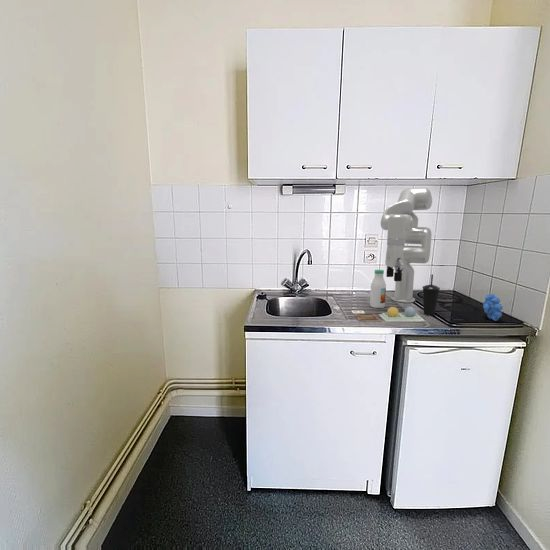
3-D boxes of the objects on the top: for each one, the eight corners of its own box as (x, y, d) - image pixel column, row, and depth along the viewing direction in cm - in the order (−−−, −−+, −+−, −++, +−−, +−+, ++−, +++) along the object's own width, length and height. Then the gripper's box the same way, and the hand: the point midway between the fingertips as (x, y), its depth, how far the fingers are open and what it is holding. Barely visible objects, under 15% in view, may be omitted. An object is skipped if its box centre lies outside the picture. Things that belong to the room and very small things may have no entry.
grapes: (474, 315, 148) (476, 291, 146) (488, 315, 148) (491, 291, 145) (489, 323, 136) (492, 297, 134) (505, 323, 136) (508, 297, 134)
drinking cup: (416, 313, 153) (419, 273, 149) (428, 311, 155) (431, 272, 152) (429, 317, 146) (432, 276, 142) (441, 315, 148) (445, 275, 145)
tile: (351, 311, 156) (351, 310, 156) (362, 311, 156) (362, 310, 156) (353, 313, 153) (353, 312, 152) (365, 313, 152) (365, 312, 152)
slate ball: (402, 315, 147) (402, 305, 146) (412, 315, 147) (413, 305, 146) (406, 318, 142) (407, 308, 141) (417, 318, 142) (418, 308, 141)
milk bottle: (375, 309, 160) (377, 271, 156) (367, 305, 167) (368, 269, 164) (387, 307, 162) (390, 270, 158) (379, 304, 169) (381, 268, 166)
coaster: (354, 315, 150) (354, 313, 150) (374, 315, 150) (374, 313, 150) (359, 321, 140) (359, 319, 140) (381, 321, 140) (381, 319, 140)
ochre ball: (385, 315, 147) (386, 305, 146) (396, 315, 147) (396, 305, 146) (389, 319, 142) (389, 308, 141) (399, 318, 142) (400, 308, 141)
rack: (378, 314, 150) (378, 312, 150) (415, 314, 149) (415, 311, 149) (385, 321, 140) (385, 318, 140) (425, 321, 140) (425, 318, 139)
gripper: (381, 240, 148) (379, 275, 151) (394, 244, 131) (392, 283, 134) (396, 240, 148) (394, 275, 151) (412, 243, 131) (409, 282, 134)
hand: (393, 278), depth 142 cm, fingers open, 9 cm apart
